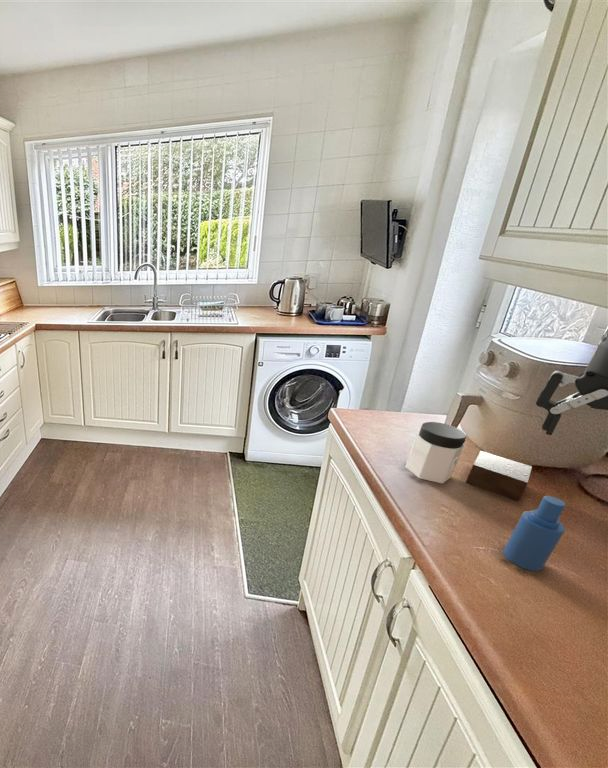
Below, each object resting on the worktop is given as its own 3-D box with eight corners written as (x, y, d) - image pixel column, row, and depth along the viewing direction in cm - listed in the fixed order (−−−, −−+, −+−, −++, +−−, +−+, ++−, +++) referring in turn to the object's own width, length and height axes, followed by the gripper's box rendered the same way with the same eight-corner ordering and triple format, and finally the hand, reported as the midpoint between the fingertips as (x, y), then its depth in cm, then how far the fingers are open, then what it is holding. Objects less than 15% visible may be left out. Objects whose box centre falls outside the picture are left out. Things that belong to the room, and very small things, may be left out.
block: (523, 484, 94) (532, 466, 92) (518, 501, 88) (527, 482, 86) (473, 467, 100) (480, 450, 98) (465, 482, 95) (473, 464, 93)
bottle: (543, 560, 73) (578, 501, 68) (541, 576, 70) (576, 515, 65) (505, 544, 77) (534, 487, 72) (500, 558, 74) (531, 499, 69)
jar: (439, 487, 93) (457, 443, 88) (400, 470, 99) (414, 427, 94) (455, 475, 97) (473, 432, 92) (416, 459, 103) (431, 418, 99)
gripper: (722, 352, 55) (657, 453, 61) (568, 331, 65) (526, 419, 71) (733, 365, 50) (661, 472, 57) (566, 340, 60) (521, 434, 67)
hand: (586, 443), depth 64 cm, fingers open, 8 cm apart
